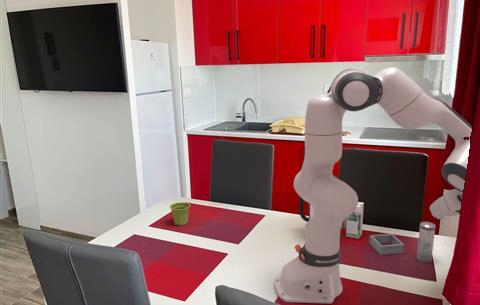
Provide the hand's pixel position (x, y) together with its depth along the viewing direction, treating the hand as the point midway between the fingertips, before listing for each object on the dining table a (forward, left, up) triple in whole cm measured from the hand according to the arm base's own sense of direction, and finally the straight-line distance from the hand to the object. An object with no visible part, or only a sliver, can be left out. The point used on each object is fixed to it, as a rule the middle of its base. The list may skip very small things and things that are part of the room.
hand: (451, 215), depth 125 cm
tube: (0, +12, -23) cm, 26 cm away
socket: (-10, +22, -23) cm, 33 cm away
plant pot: (-93, +59, -23) cm, 113 cm away
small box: (-20, +44, -23) cm, 54 cm away
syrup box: (-18, +35, -23) cm, 46 cm away
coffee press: (-33, +35, -23) cm, 54 cm away
